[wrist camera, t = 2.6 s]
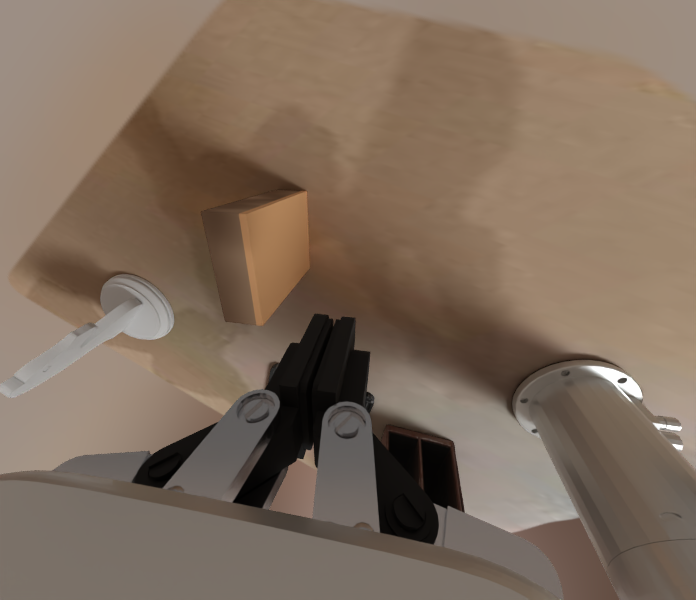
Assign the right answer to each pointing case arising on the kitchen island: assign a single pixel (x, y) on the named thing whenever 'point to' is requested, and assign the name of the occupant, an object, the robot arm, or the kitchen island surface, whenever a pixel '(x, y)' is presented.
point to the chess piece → (101, 330)
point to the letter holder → (427, 464)
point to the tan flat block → (258, 252)
